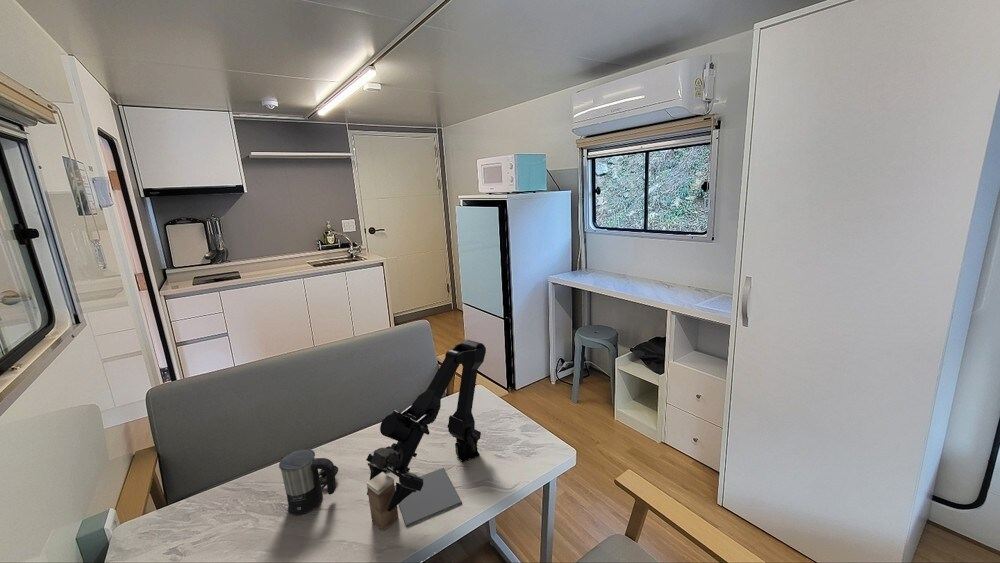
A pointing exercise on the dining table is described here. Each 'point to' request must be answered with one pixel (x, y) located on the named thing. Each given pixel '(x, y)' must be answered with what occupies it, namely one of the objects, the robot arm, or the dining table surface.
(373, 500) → the wooden block
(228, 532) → the dining table surface
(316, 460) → the milk frother
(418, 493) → the charcoal mat
